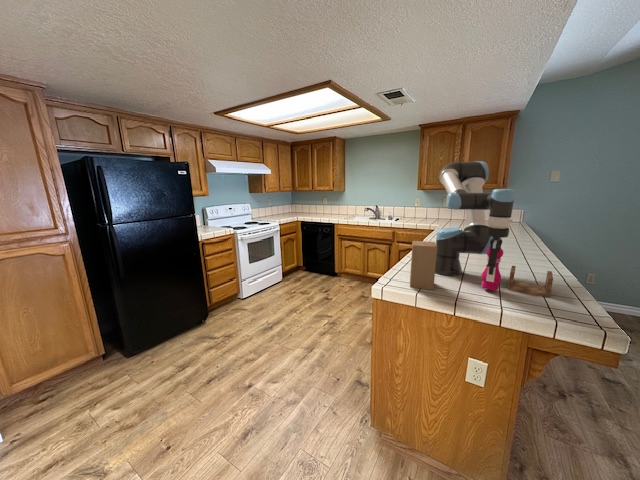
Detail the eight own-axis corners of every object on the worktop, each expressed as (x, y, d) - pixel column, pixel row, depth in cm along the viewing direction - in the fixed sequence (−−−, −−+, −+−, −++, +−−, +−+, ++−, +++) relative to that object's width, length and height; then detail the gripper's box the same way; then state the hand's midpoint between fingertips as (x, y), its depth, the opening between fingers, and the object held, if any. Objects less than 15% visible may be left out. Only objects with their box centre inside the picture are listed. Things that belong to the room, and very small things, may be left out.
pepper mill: (502, 291, 108) (510, 245, 104) (484, 289, 110) (490, 244, 105) (495, 284, 115) (501, 241, 111) (477, 283, 117) (483, 240, 112)
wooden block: (431, 282, 123) (435, 241, 119) (433, 290, 114) (437, 246, 110) (410, 279, 127) (412, 240, 122) (409, 287, 117) (412, 245, 113)
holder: (507, 289, 114) (510, 271, 112) (509, 281, 122) (512, 265, 120) (549, 297, 105) (553, 278, 103) (548, 289, 113) (551, 271, 111)
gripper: (507, 231, 97) (498, 288, 102) (511, 224, 112) (503, 273, 117) (484, 229, 101) (477, 283, 106) (490, 222, 116) (484, 270, 121)
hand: (491, 278), depth 112 cm, fingers closed on pepper mill, 7 cm apart
